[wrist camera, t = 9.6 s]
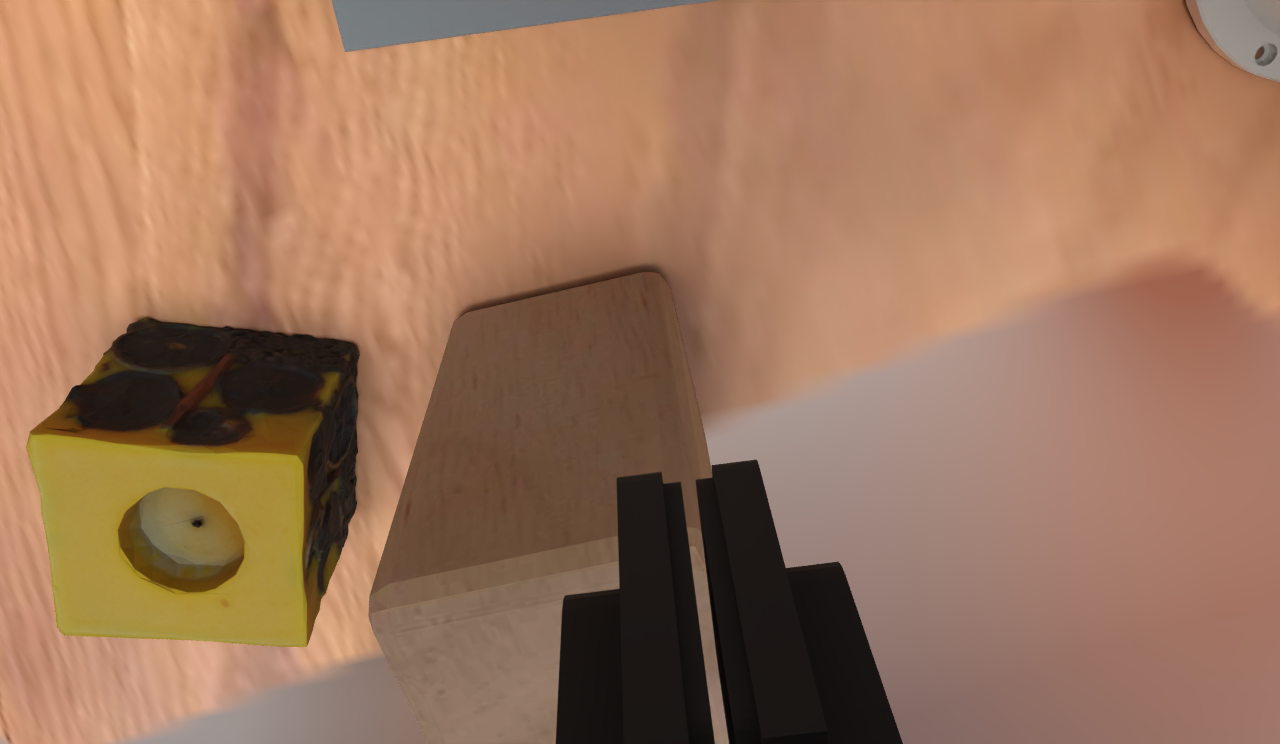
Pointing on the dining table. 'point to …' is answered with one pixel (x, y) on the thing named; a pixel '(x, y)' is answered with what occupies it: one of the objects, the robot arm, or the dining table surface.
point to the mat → (465, 17)
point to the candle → (200, 485)
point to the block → (532, 501)
